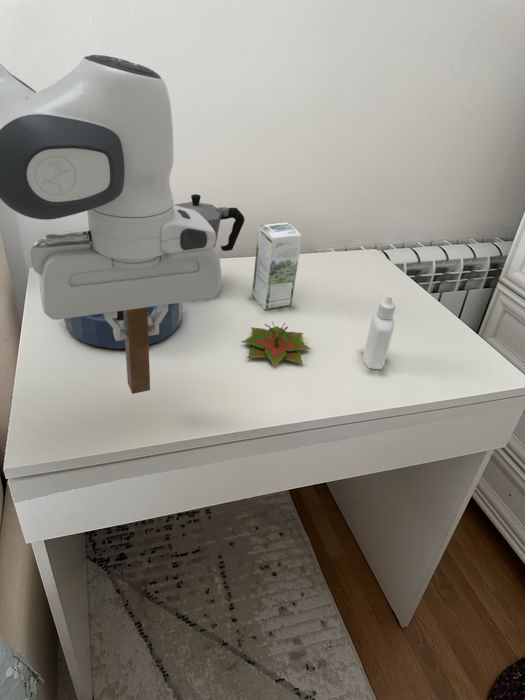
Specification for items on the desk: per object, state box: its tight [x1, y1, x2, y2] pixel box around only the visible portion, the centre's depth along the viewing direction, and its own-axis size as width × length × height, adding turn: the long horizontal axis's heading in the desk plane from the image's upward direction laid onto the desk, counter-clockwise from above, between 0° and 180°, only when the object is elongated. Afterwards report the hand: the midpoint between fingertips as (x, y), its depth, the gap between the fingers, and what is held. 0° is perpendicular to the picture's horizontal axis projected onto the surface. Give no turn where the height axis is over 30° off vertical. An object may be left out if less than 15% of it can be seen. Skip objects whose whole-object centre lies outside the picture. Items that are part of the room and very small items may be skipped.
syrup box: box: [251, 221, 303, 311], centre depth 96 cm, size 6×6×14 cm
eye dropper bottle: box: [362, 294, 396, 370], centre depth 84 cm, size 4×6×12 cm
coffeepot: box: [174, 193, 245, 252], centre depth 97 cm, size 15×9×18 cm, turn 103°
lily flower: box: [241, 320, 312, 368], centre depth 86 cm, size 12×12×5 cm
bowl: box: [63, 302, 183, 349], centre depth 90 cm, size 19×19×6 cm
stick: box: [123, 307, 151, 395], centre depth 66 cm, size 2×2×14 cm
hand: (136, 335), depth 65 cm, fingers closed on stick, 2 cm apart
